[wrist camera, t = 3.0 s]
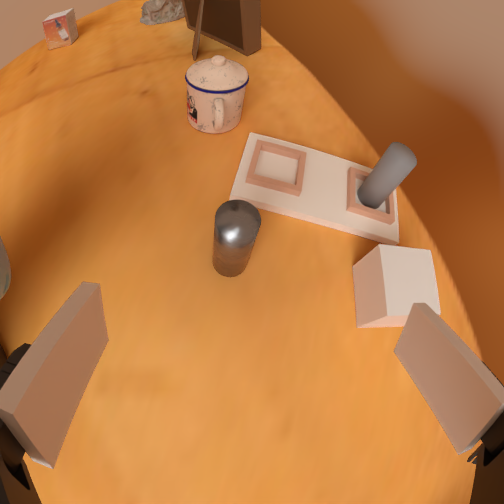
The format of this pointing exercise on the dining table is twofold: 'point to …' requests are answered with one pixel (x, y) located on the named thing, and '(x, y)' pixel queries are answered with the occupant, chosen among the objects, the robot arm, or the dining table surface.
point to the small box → (60, 29)
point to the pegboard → (324, 186)
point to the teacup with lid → (215, 94)
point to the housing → (393, 285)
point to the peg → (234, 236)
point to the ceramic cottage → (161, 11)
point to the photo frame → (225, 23)
